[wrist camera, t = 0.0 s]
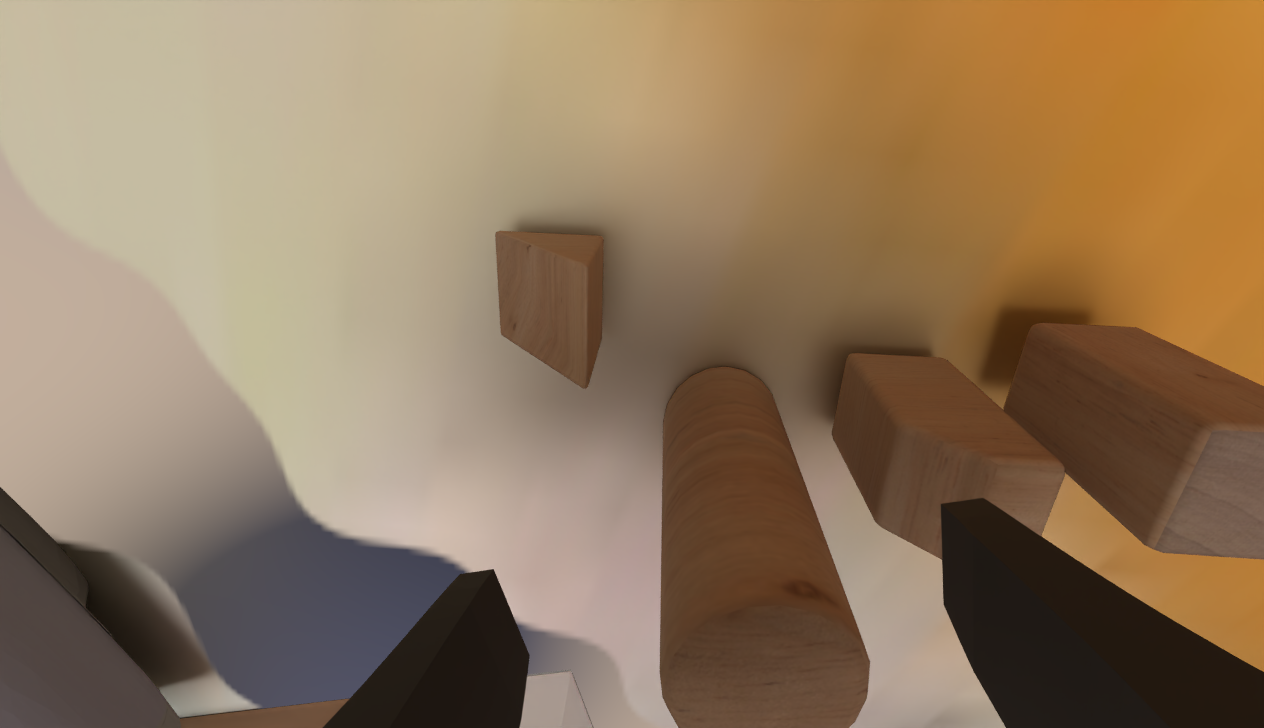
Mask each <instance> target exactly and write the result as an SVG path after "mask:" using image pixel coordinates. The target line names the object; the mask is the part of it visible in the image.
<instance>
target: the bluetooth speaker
mask: <svg viewBox="0 0 1264 728" xmlns="http://www.w3.org/2000/svg"><path fill="white" fill-rule="evenodd" d="M9 533H10V534H11V535H12V536H13V537H14V538H13V537H12V536H11V535H10V534H9ZM15 539H16V540H17V541H18V542H19V543H20V544H21V545H22V546H23V547H24V548H25V549H26V550H25V549H24V548H23V547H22V546H21V545H20V544H19V543H18V542H17V541H16V540H15ZM63 587H64V588H65V589H66V590H65V589H64V588H63ZM88 590H89V587H88V582H87V580H86V579H85V578H84V576H83V575H82V573H81V572H80V571H79V569H78V568H77V566H76V565H75V564H74V562H73V561H72V560H71V559H70V558H69V557H68V556H67V554H66V553H65V552H64V551H63V550H62V549H61V548H60V547H59V545H58V544H57V543H56V542H55V541H54V540H53V538H52V537H51V536H50V535H49V534H48V533H47V532H46V531H45V530H44V529H43V528H42V527H40V525H39V524H38V523H37V522H36V521H35V520H34V519H33V518H32V517H31V516H30V515H29V514H28V513H27V512H26V511H25V510H23V509H22V508H21V507H20V506H19V505H18V504H17V503H16V502H15V501H14V500H13V499H12V498H11V497H10V496H9V495H8V494H7V493H6V492H5V491H3V489H2V488H1V487H0V728H181V722H180V719H179V717H178V715H177V714H176V713H175V711H174V710H173V709H172V707H171V706H170V705H169V703H168V702H167V701H166V699H165V698H164V696H163V695H162V694H161V692H160V691H159V689H158V688H157V687H156V686H155V685H154V683H153V682H152V681H151V680H150V679H149V677H148V676H147V675H146V674H145V672H144V671H143V670H142V669H141V668H140V667H139V666H138V665H137V664H136V663H135V662H134V661H133V660H132V659H131V658H130V656H129V655H128V654H127V653H126V652H125V651H124V650H123V649H122V648H121V647H120V646H119V645H118V644H117V643H116V642H115V640H114V639H113V638H112V637H111V636H112V635H111V633H110V632H109V631H108V630H107V629H106V628H105V627H104V626H103V625H102V624H101V623H100V622H99V621H98V620H97V619H96V618H95V617H94V616H93V615H92V614H91V613H90V612H89V611H88V610H87V609H86V600H87V595H88Z"/></svg>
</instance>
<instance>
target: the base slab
mask: <svg viewBox="0 0 1264 728" xmlns="http://www.w3.org/2000/svg"><path fill="white" fill-rule="evenodd" d="M348 700H349V699H341V700H333V701H324V702H316V703H308V704H299V705H291V706H282V707H274V708H265V709H257V710H249V711H240V712H232V713H223V714H215V715H207V716H198V717H190V718H181V719H180V722H181V728H323V727H324V726H325V724H326V723H327V722H328V721H329V720H330V719H331V718H332V717H333V716H334V715H335V714H336V713H337V712H338V711H339V710H340V708H341V707H342V706H343V705H344V704H345V703H346V702H347V701H348Z"/></svg>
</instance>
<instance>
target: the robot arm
mask: <svg viewBox="0 0 1264 728" xmlns="http://www.w3.org/2000/svg"><path fill="white" fill-rule="evenodd" d="M941 533H942V565H943V598H944V606H945V608H946V611H947V613H948V615H949V617H950V620H951V622H952V624H953V627H954V629H955V631H956V634H957V636H958V638H959V640H960V643H961V645H962V647H963V649H964V651H965V654H966V656H967V658H968V660H969V662H970V664H971V667H972V669H973V671H974V673H975V675H976V676H977V678H978V680H979V682H980V683H981V685H982V687H983V689H984V690H985V692H986V694H987V695H988V697H989V699H990V701H991V702H992V704H993V706H994V708H995V709H996V711H997V713H998V714H999V716H1000V718H1001V720H1002V721H1003V723H1004V725H1005V727H1006V728H1264V672H1262V671H1261V670H1259V669H1257V668H1255V667H1253V666H1251V665H1250V664H1248V663H1246V662H1244V661H1242V660H1241V659H1239V658H1237V657H1235V656H1234V655H1232V654H1230V653H1229V652H1227V651H1225V650H1223V649H1222V648H1220V647H1218V646H1216V645H1215V644H1213V643H1211V642H1209V641H1208V640H1206V639H1204V638H1203V637H1201V636H1199V635H1197V634H1196V633H1194V632H1192V631H1190V630H1189V629H1187V628H1185V627H1184V626H1182V625H1180V624H1178V623H1177V622H1175V621H1173V620H1172V619H1170V618H1168V617H1167V616H1165V615H1163V614H1162V613H1160V612H1158V611H1157V610H1155V609H1153V608H1152V607H1150V606H1148V605H1147V604H1145V603H1144V602H1142V601H1140V600H1139V599H1137V598H1135V597H1134V596H1132V595H1131V594H1129V593H1127V592H1126V591H1124V590H1123V589H1121V588H1120V587H1118V586H1116V585H1115V584H1113V583H1112V582H1110V581H1108V580H1107V579H1105V578H1104V577H1102V576H1101V575H1099V574H1097V573H1096V572H1094V571H1093V570H1091V569H1090V568H1088V567H1087V566H1085V565H1084V564H1082V563H1080V562H1079V561H1077V560H1076V559H1074V558H1073V557H1071V556H1070V555H1068V554H1067V553H1065V552H1064V551H1062V550H1061V549H1059V548H1058V547H1056V546H1055V545H1053V544H1052V543H1050V542H1049V541H1047V540H1046V539H1044V538H1043V537H1041V536H1040V535H1038V534H1037V533H1035V532H1034V531H1032V530H1031V529H1029V528H1028V527H1026V526H1025V525H1023V524H1022V523H1020V522H1019V521H1018V520H1016V519H1015V518H1013V517H1012V516H1010V515H1009V514H1007V513H1006V512H1004V511H1003V510H1001V509H1000V508H998V507H997V506H995V505H994V504H992V503H991V502H989V501H988V500H986V499H985V498H977V499H970V500H964V501H957V502H950V503H943V504H941ZM528 664H529V653H528V651H527V648H526V646H525V643H524V641H523V639H522V637H521V634H520V631H519V629H518V627H517V624H516V622H515V619H514V617H513V615H512V612H511V610H510V607H509V605H508V603H507V600H506V598H505V595H504V593H503V591H502V588H501V586H500V583H499V581H498V579H497V576H496V574H495V571H494V569H492V570H485V571H479V572H472V573H465V574H460V575H459V576H458V577H457V578H456V579H455V580H454V581H453V582H452V583H451V584H450V586H449V587H448V588H447V589H446V590H445V591H444V592H443V593H442V595H441V596H440V597H439V598H438V599H437V600H436V601H435V602H434V604H433V605H432V606H431V607H430V608H429V609H428V611H427V612H426V613H425V614H424V615H423V617H422V618H421V619H420V620H419V621H418V622H417V623H416V624H415V626H414V627H413V628H412V629H411V630H410V632H409V633H408V634H407V635H406V636H405V637H404V638H403V640H402V641H401V642H400V643H399V644H398V645H397V646H396V648H395V649H394V650H393V651H392V652H391V653H390V654H389V656H388V657H387V658H386V659H385V660H384V661H383V662H382V664H381V665H380V666H379V667H378V668H377V669H376V670H375V671H374V673H373V674H372V675H371V676H370V677H369V678H368V679H367V681H366V682H365V683H364V684H363V685H362V686H361V687H360V688H359V689H358V690H357V691H356V693H355V694H354V695H353V696H352V697H351V698H350V699H349V700H348V701H347V702H346V703H345V704H344V705H343V706H342V707H341V708H340V710H339V711H338V712H337V713H336V714H335V715H334V716H333V717H332V718H331V719H330V720H329V721H328V722H327V723H326V724H325V726H324V727H323V728H520V723H521V718H522V711H523V704H524V697H525V690H526V681H527V673H528Z"/></svg>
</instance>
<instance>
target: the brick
mask: <svg viewBox="0 0 1264 728" xmlns="http://www.w3.org/2000/svg"><path fill="white" fill-rule="evenodd" d="M520 728H594V727H593V725H592V722H591V720H590V717H589V715H588V712H587V709H586V707H585V704H584V701H583V699H582V696H581V693H580V691H579V688H578V686H577V683H576V680H575V678H574V675H573V673H572V670H563V671H555V672H546V673H538V674H530V675H527V681H526V690H525V697H524V704H523V711H522V718H521V723H520Z"/></svg>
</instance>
